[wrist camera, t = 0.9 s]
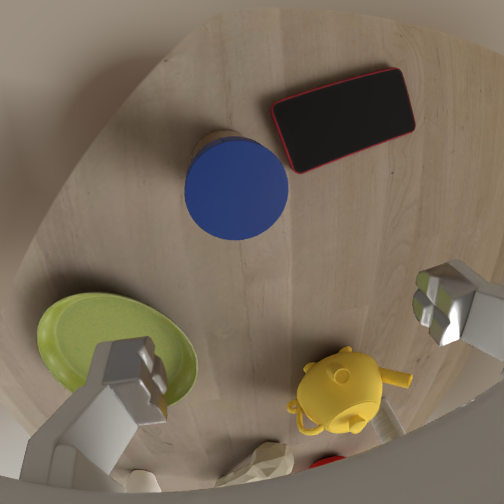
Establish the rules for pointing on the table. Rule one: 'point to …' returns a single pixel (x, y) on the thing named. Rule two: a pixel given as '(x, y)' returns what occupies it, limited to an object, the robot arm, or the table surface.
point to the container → (387, 423)
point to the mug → (141, 482)
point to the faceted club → (262, 465)
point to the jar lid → (235, 188)
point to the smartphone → (343, 118)
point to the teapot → (342, 392)
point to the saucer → (111, 338)
